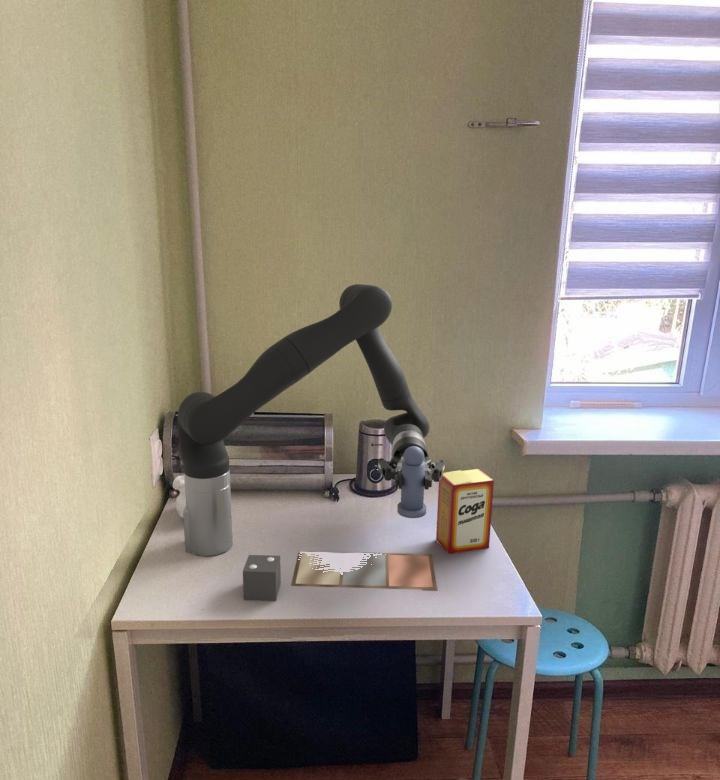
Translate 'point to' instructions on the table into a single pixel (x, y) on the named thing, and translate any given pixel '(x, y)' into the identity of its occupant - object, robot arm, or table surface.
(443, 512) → the baking soda box
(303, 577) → the game board
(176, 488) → the duck figurine
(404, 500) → the pawn
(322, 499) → the table surface
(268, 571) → the die
